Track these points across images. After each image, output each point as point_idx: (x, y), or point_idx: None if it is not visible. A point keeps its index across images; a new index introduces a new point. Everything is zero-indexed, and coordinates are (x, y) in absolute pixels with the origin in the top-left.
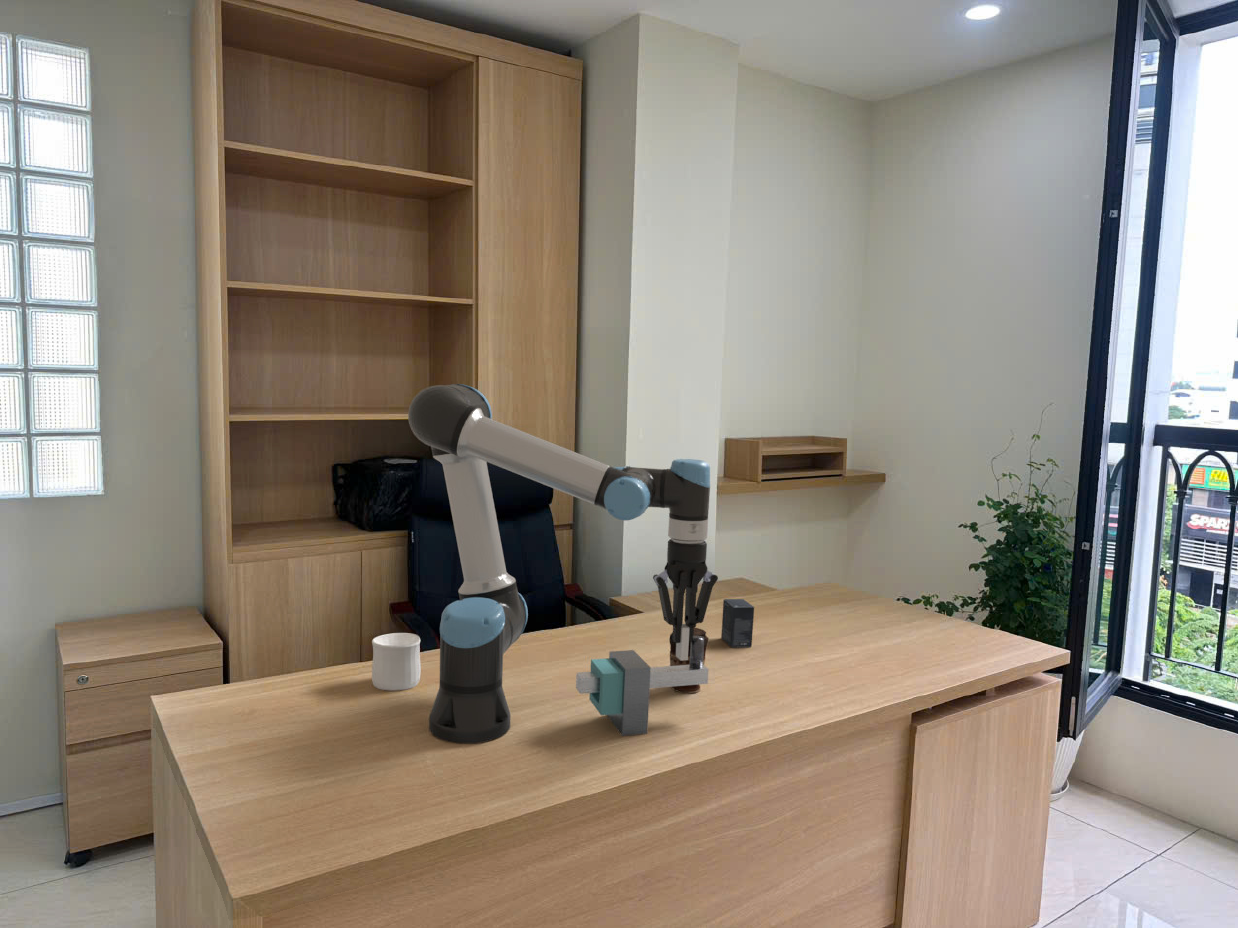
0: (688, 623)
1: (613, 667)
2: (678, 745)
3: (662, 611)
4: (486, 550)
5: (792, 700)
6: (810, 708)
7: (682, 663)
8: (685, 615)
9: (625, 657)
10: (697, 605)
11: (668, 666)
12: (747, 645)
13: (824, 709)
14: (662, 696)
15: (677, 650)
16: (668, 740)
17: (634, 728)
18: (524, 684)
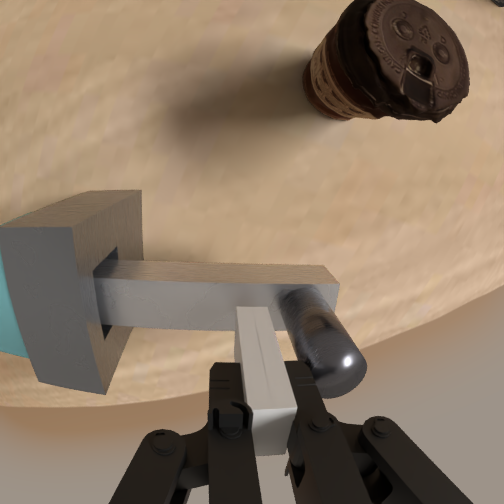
0: (289, 462)
1: (15, 320)
2: (190, 349)
3: (120, 483)
4: None
5: (475, 221)
6: (475, 259)
7: (339, 102)
8: (305, 464)
9: (36, 299)
10: (403, 499)
11: (208, 284)
12: (497, 3)
13: (484, 267)
14: (259, 110)
15: (237, 335)
16: (178, 330)
17: None
18: (11, 25)
